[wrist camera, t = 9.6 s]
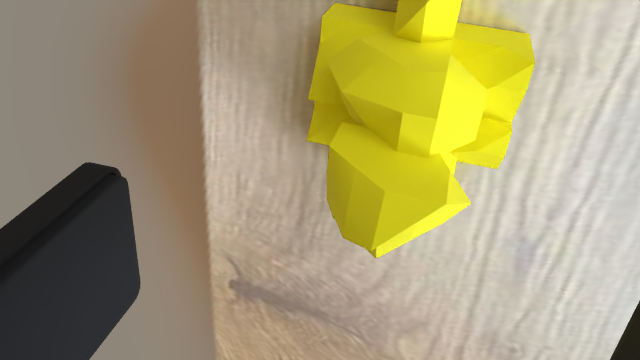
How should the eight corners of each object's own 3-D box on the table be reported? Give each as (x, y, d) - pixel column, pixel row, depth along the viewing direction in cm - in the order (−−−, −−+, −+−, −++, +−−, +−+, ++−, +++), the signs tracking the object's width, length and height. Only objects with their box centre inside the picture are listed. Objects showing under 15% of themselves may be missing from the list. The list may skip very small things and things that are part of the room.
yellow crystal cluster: (552, -43, 15) (597, 46, 9) (480, 198, 20) (476, 374, 13) (342, -72, 16) (246, -10, 10) (318, 164, 21) (241, 313, 14)
